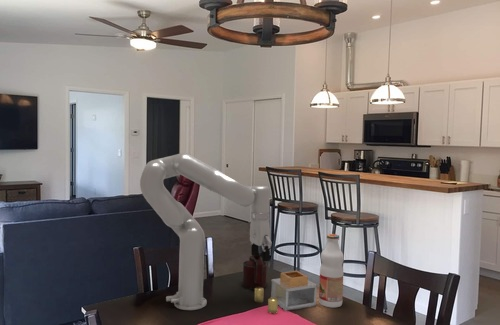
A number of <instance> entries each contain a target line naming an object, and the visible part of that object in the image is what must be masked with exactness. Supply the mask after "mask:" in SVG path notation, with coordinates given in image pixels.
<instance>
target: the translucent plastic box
mask: <svg viewBox="0 0 500 325" xmlns="http://www.w3.org/2000/svg"><path fill="white" fill-rule="evenodd" d="M270 281H271V284H270V286H271V287H270V297H275V298H277V299H278V305H279V306H278V307H279V308H281V309H282V308H283V310H284V312H289V311H293V310H294V311H295V310H299V309H305V308H313V307H316V306H317V292H318V291H317V290H318V289H317V287H318V284H316V283H315V282H313V281H311V280H309V276H307V275H306V274H303V272H301V271H299V270H292V271H285V272H280V277H279V278H273V279H272V278H271V280H270Z"/></svg>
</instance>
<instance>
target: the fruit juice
mask: <svg viewBox="0 0 500 325" xmlns="http://www.w3.org/2000/svg"><path fill="white" fill-rule="evenodd" d="M326 240H327V242H326V245H325V247H324V249H323V250H322V251H321V253H320V260H321V264H320V268H319V281H318V282H319V283H318V284H319V289H318V302H319V304H320V305H321V306H323V307H326V308H332V309H333V308H340V307H341V306H342V305H343V297H344V295H343V294H344V266H343V263H344V259H345V258H344V257H345V256H344V252H342V250H341V248H340V243H339V240H340V235H339V234H336V233H328V234H326Z"/></svg>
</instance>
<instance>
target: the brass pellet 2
mask: <svg viewBox="0 0 500 325" xmlns="http://www.w3.org/2000/svg"><path fill="white" fill-rule="evenodd" d="M267 302H268V303H267V305H268V306H267V312H271V313H276V312H277V311H278V309H279V308H278V307H279V306H278V299H277V298H275V297H271V296H270V297H268V299H267ZM278 312H279V311H278ZM278 312H277V313H278ZM277 313H276V314H277Z"/></svg>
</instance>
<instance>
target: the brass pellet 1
mask: <svg viewBox="0 0 500 325" xmlns="http://www.w3.org/2000/svg"><path fill="white" fill-rule="evenodd" d="M264 290H265V289H264V288H262V287H256V288H255V289H254V302H255V303H264V293H265V291H264Z"/></svg>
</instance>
